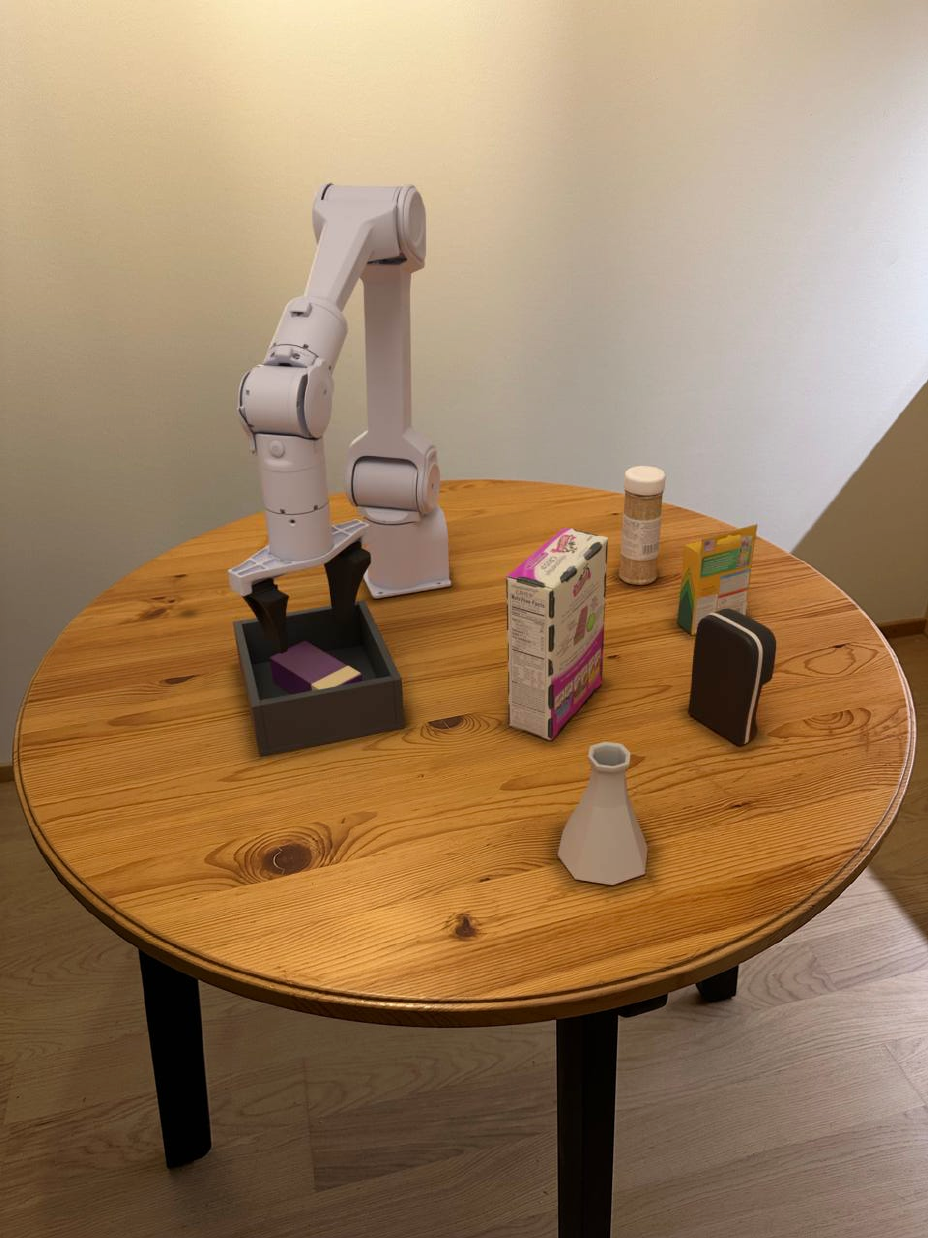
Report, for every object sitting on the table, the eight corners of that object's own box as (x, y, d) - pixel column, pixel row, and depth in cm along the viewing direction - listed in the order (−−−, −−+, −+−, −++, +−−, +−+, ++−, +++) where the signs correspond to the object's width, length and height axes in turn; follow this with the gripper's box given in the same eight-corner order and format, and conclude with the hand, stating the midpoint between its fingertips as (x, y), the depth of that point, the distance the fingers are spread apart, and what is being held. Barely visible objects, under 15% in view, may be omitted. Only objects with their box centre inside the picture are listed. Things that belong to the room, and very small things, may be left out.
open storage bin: (368, 644, 107) (364, 599, 104) (404, 728, 94) (401, 678, 91) (240, 667, 103) (232, 621, 100) (259, 757, 90) (251, 707, 87)
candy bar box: (558, 670, 102) (563, 524, 93) (603, 684, 99) (612, 536, 91) (503, 727, 93) (503, 573, 85) (550, 744, 91) (555, 587, 83)
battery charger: (769, 734, 92) (787, 628, 86) (740, 750, 90) (757, 643, 84) (711, 699, 97) (725, 597, 91) (684, 713, 95) (696, 609, 89)
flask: (550, 826, 82) (553, 728, 77) (636, 819, 82) (645, 722, 77) (565, 891, 76) (569, 789, 70) (659, 884, 76) (670, 782, 71)
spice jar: (648, 566, 121) (656, 462, 114) (662, 584, 117) (672, 477, 110) (612, 571, 120) (618, 466, 113) (625, 589, 116) (633, 481, 109)
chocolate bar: (308, 665, 102) (305, 639, 101) (364, 699, 97) (362, 673, 95) (272, 682, 100) (268, 657, 98) (328, 719, 94) (325, 693, 92)
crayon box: (728, 608, 112) (741, 513, 106) (746, 620, 109) (759, 524, 104) (674, 623, 109) (684, 527, 103) (691, 636, 107) (702, 538, 101)
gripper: (333, 467, 95) (344, 592, 101) (200, 513, 86) (222, 647, 93) (381, 487, 90) (389, 616, 97) (247, 538, 82) (266, 676, 88)
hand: (311, 633), depth 95 cm, fingers open, 7 cm apart
